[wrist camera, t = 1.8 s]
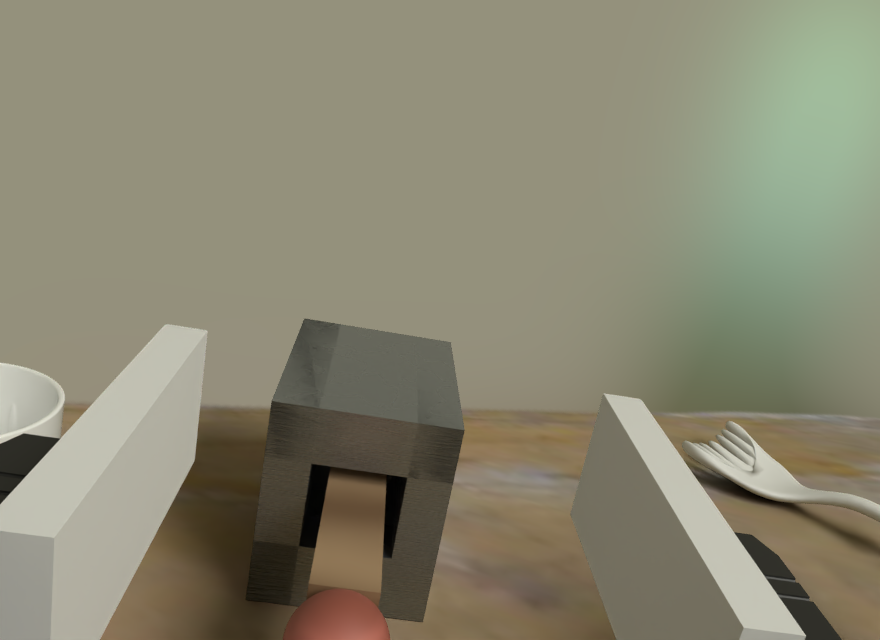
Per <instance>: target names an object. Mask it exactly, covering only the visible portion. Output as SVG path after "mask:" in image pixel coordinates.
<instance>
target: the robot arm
mask: <svg viewBox="0 0 880 640" xmlns="http://www.w3.org/2000/svg"><path fill="white" fill-rule="evenodd" d="M207 332H208V331H207V330H201V329H195V328H189V327H182V326H176V325H170V324H166V325H165V326H164V327H163V328H162V329H161V330H160V331H159V332H158V333H157V334H156V335H155V336H154V338H153V339H152V340H151V341H150V342H149V343H148V344H147V345H146V346H145V347H144V348H143V349H142V350H141V352H140V353H139V354H138V355H137V356H136V357H135V358H134V359H133V360H132V361H131V362H130V364H129V365H128V366H127V367H126V368H125V369H124V370H123V371H122V372H121V373H120V374H119V376H118V377H117V378H116V379H115V380H114V381H113V382H112V383H111V384H110V385H109V387H108V388H107V389H106V390H105V391H104V392H103V393H102V394H101V395H100V396H99V397H98V399H96V401H95V402H94V403H93V404H92V405H91V406H90V407H89V408H88V409H87V410H86V411H85V413H84V414H83V415H82V416H81V417H80V418H79V419H78V420H77V421H76V422H75V423H74V425H73V426H72V427H71V428H70V429H69V430H68V431H67V432H66V433H65V434H64V435H63V437H62V438H61V439H60V438H53V437H46V436H39V435H32V434H25V433H23V434H21V435H19V436H17V437H14V438H12V439H10V440H8V441H6V442H3V443H1V444H0V640H100V638H101V636H102V634H103V632H104V631H105V629H106V627H107V625H108V623H109V621H110V619H111V617H112V615H113V614H114V612H115V610H116V608H117V606H118V604H119V602H120V600H121V599H122V597H123V595H124V593H125V591H126V589H127V587H128V585H129V583H130V582H131V580H132V578H133V576H134V574H135V572H136V570H137V568H138V566H139V565H140V563H141V561H142V559H143V557H144V555H145V553H146V551H147V549H148V548H149V546H150V544H151V542H152V540H153V538H154V536H155V534H156V533H157V531H158V529H159V527H160V525H161V523H162V521H163V519H164V517H165V516H166V514H167V512H168V510H169V508H170V506H171V504H172V502H173V500H174V499H175V497H176V495H177V493H178V491H179V489H180V487H181V485H182V483H183V482H184V480H185V478H186V476H187V474H188V472H189V470H190V468H191V467H192V465H193V463H194V461H195V452H196V442H197V432H198V422H199V412H200V402H201V392H202V382H203V372H204V362H205V352H206V341H207ZM571 517H572V520H573V523H574V525H575V528H576V531H577V533H578V536H579V539H580V542H581V544H582V547H583V550H584V553H585V555H586V558H587V561H588V564H589V566H590V569H591V572H592V575H593V577H594V580H595V583H596V586H597V588H598V591H599V594H600V597H601V599H602V602H603V605H604V607H605V610H606V613H607V616H608V618H609V621H610V624H611V627H612V629H613V632H614V635H615V638H616V640H842V639H841V638H840V637H839V635H838V634H837V633H836V631H835V630H834V629H833V627H832V626H831V625H830V624H829V622H828V621H827V620H826V618H825V617H824V616H823V614H822V613H821V612H820V610H819V609H818V608H817V606H816V605H815V604H814V602H810V601H809V598H810V597H809V596H808V594H807V593H806V592H805V590H804V589H803V588H802V586H801V585H800V584H799V583H796V582H795V577H794V576H793V575H792V573H791V572H790V571H789V569H788V568H787V567H786V565H785V564H784V563H783V561H782V560H781V559H780V557H779V556H778V555H777V554H775V553H774V552H773V551H771V550H770V549H769V548H768V547H766V546H765V545H764V544H763V543H761V542H760V541H759V540H758V539H756V538H755V537H754V536H752V535H749V534H742V533H735V532H733V530H732V529H731V528H730V526H729V525H728V523H727V522H726V520H725V519H724V518H723V516H722V515H721V513H720V512H719V510H718V509H717V508H716V506H715V505H714V503H713V502H712V500H711V499H710V498H709V496H708V495H707V493H706V492H705V490H704V489H703V488H702V486H701V485H700V483H699V482H698V480H697V479H696V478H695V476H694V475H693V473H692V472H691V470H690V469H689V467H688V466H687V465H686V463H685V462H684V460H683V459H682V457H681V456H680V455H679V453H678V452H677V450H676V449H675V447H674V446H673V445H672V443H671V442H670V440H669V439H668V437H667V436H666V435H665V433H664V432H663V430H662V429H661V427H660V426H659V425H658V423H657V422H656V420H655V419H654V417H653V416H652V415H651V413H650V412H649V410H648V409H647V407H646V406H645V405H644V403H643V402H642V400H641V399H635V398H630V397H623V396H616V395H611V394H605V393H604V394H603V397H602V401H601V404H600V408H599V412H598V415H597V419H596V422H595V426H594V430H593V433H592V437H591V441H590V444H589V448H588V452H587V455H586V459H585V463H584V466H583V470H582V474H581V477H580V481H579V485H578V488H577V492H576V496H575V499H574V503H573V506H572V510H571Z"/></svg>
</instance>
